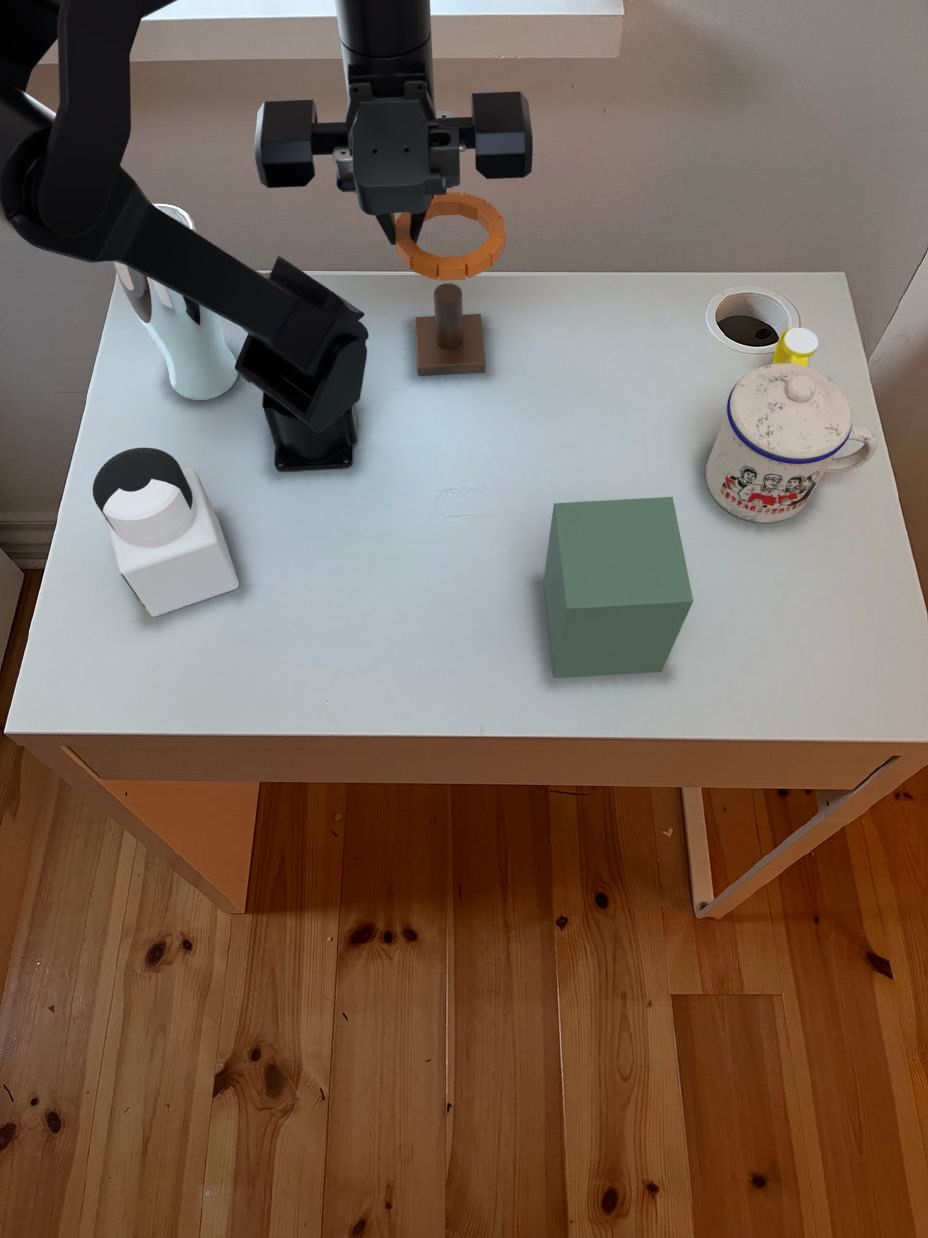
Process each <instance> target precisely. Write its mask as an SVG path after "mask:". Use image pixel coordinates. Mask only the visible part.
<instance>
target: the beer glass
mask: <svg viewBox="0 0 928 1238" xmlns="http://www.w3.org/2000/svg"><path fill="white" fill-rule="evenodd" d="M153 204H154V205H156V206H157V207H159V208H161V209H162V210H164V211H165V212H167V213H168V214H170V215H171V216H173V217H174V218H176V219H177V220H179V221H181V222H182V223H184V224H185V225H187V226H188V227H190V228H191V229H193V230H194V231H196V232H198V231H197V229H196V226H195V223H194V220H193V219H192V217H191V216H190V215H189V214H188V213H187V212H185V210H183V209H181V208H179V207H176V206H175V205H171V204H164V203H162V204H161V203H153ZM112 264H113V266H114V269H115V272H116V275H117V277H118V280H119V283H120V285H121V288H122V290H123V292H124V294H125V297H126V299H127V301H128V303H129V305H130V307H131V308H132V310H133V312H134V314H135V315H136V316H137V318H138V319H139V321H140V322H141V324H142V325H143V327H144V328H145V330H146V331H147V333H148V334H149V335H150V337H151V338H152V339H153V341H154V342H155V343H156V345H157V347H158V348H159V350H160V351H161V353H162V355H163V357H164V360H165V362H166V365H167V370H168V377H169V382H170V385H171V387H172V389H173V390H174V391H175V392H176V393H177V394H178V395H179V396H181V397H183V398H185V399H187V400H193V401H206V400H207V401H208V400H212V399H215V398H218V397H220V396H222V395H224V394H225V393H227V392H228V391H229V390H230V389H231V388H233V386H234V385H235V384H236V382H237V380H238V376H239V373H238V372H237V371H236V370H235V364H236V362H237V359H236V357H235V356H234V354H233V352H232V350H231V349H230V348H229V346H228V344H227V342H226V340H225V338H224V334H223V329H222V328H223V327H222V322H221V316H220V315H218V314H216V313H214V312H212V311H210V310H209V309H207V308H205V307H203V306H201V305H199V304H197V303H195V302H194V301H192V300H190V299H188V298H186V297H184V296H182V295H181V294H179V293H177V292H175V291H173V290H171V289H169V288H167V287H166V286H164V285H162V284H160V283H158V282H156V281H154V280H153V279H151V278H149V277H147V276H145V275H143V274H141V273H139V272H138V271H136V270H134V269H132V268H130V267H128V266H126V265H124V264H121V263H118V262H112Z"/></svg>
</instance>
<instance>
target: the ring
mask: <svg viewBox="0 0 928 1238" xmlns="http://www.w3.org/2000/svg"><path fill="white" fill-rule="evenodd" d="M438 216H462V217H464V218H466V219H470V220H473V221H476V222H477V223H479V225H481V226H482V228H483V229H484V230H485V231H486V232H487V234H488V236H487V238H486V239H485V241H484V242H483V244H482V245H481V247H479V248H476V249H475V250H473V251H471V252H468V253H466V254H464V255H457V256H439V255H436V254H433V253H430V252H428V251H425V250H422V249H421V247H420V246H419V245H418V244H417V243H415V242H414V241H413V240H412V239H411V237H410V213H408V212H402V213H400V214H399V216H398V217H397V218H395V243H396V245H395V251H396V255H397V256H398V257H399V259H400V260H401V261H402V262H403V264H405V266H406V267H407V268H408V269H409V270H410V271H412V272H413V273H416V274H418V275H421V276H424V277H427V278H430V279H432V280H435V281H437V279H438V280H439V281H460V280H461V281H462V280H466V278H467V279H471V278H473V277H475V276H478V275H480V274H482V273H484V272H486V271H488V270H490V269H491V267H494V265H495V264H496V263H497V261H498V260H499V259H500V257H501V255H502V254H503V253H504V252H505V248H506V228H505V227H506V226H505V219H504V217H503V215H502V214H501V213H500V212H499V211H498V210H497V208H495V207H494V206H493V205H492V203H490V202H489V201H487V200H486V199H484V198H481V197H478V196H475V195H472V194H469V193H466V192H463V193H462V194H461V192H460V191H456V192H454V191H453V192H447V195H435V196H434V198H433V200H432V202H431V205H430V207H429V208H428V211H427V213H426V216H425V219H424V222H423V223H425V222H427V221H430V220H432V219H434V218H436V217H438Z"/></svg>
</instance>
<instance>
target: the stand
mask: <svg viewBox="0 0 928 1238" xmlns="http://www.w3.org/2000/svg"><path fill="white" fill-rule="evenodd" d="M433 304H434V305H433V309H434V315H431V316H430V315H427V316H415V318H414V323H415V325H414V327H415V346H416V347H415V349H416V369H417V376H418V377H422V376H425V377H426V376H441V375H442V376H443V375H445V376H446V375H462V374H481V373H482V374H483V373H485V372H486V355H485V342H484V333H483V331H484V330H483V323H482V322H483V321H482V314H481V313H469V314H466V313H465V314H464V313H463V311H464V310H463V291H462V289H461V287H460V286H458V285H457V284H456V283H451V282H450V283H449V282H446V283H442V284H440V285H438V286H437V287H435V289H434V291H433Z"/></svg>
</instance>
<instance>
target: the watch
mask: <svg viewBox="0 0 928 1238" xmlns="http://www.w3.org/2000/svg"><path fill="white" fill-rule="evenodd" d="M818 347H819V339H818V336H817V335H816V334H815V333H814V332H813V331H812V330H810V329H808V328H806V327H805V328H804V327H794V328H787V329H784V330H783V331H782V332H781V335H780V336H779V338H778V340H777V342H776V346H775V349H774V353H773V357H772V363H771V364H777V363H790V364H797V365H802V366H806V367H809V359H810V357H812V356H813V355H814V354H815V353H816V351H817V349H818Z"/></svg>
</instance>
